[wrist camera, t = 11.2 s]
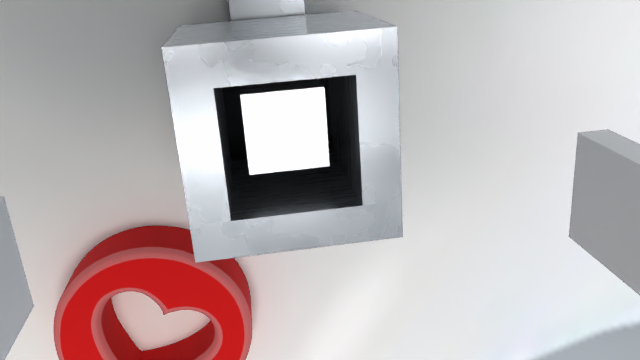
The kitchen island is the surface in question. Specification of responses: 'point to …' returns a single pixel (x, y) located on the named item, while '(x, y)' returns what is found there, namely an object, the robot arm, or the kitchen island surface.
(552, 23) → the kitchen island surface
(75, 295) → the decorative ornament
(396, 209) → the hollow square tube
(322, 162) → the ratchet
